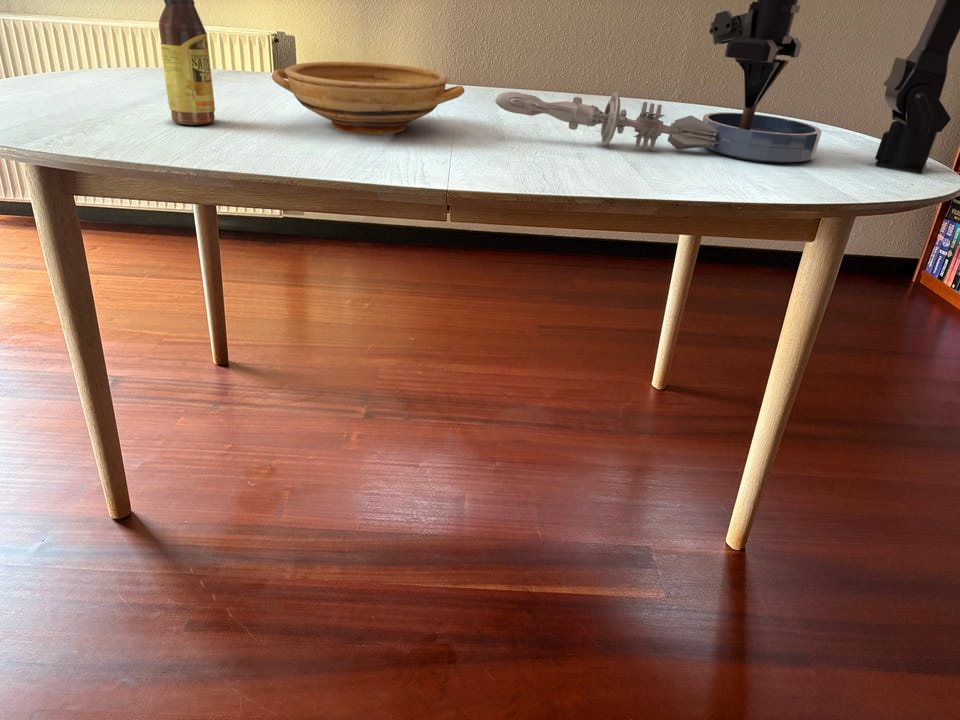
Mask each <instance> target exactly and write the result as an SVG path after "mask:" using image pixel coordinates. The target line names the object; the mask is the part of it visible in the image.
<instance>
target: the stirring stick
mask: <svg viewBox="0 0 960 720" xmlns="http://www.w3.org/2000/svg"><path fill="white" fill-rule="evenodd" d="M757 102H758V100H757V101H756V103H755V104H754V106H753V107H752V108H746V107H745V104H744V106H743V109H742V113H743V114H742V118H741V122H740V126H739V128H743V129H749V130H751V126H752V122H753V118H754V114H756V109H757V106H758V105H757Z"/></svg>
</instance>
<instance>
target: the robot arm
mask: <svg viewBox="0 0 960 720" xmlns="http://www.w3.org/2000/svg"><path fill="white" fill-rule="evenodd" d="M798 3H799V0H756V1H752V2H751V3H750V4H749V7H748V10H747V12H746V13H741V14H735V15H734V16H733V15H732V13H731V11H729V10H724V11H723V10H722V11H720V12H716V13H715V16H714V19H713V21H711V23H710V28H709V30H708V32H709V34H710V35H712V41H713V45H715V46H716V45H717V44H719V45H724V44H726V49H725V54H724V57H725V58H731V59H734V60H735V62H736V63H738V65H739V66H740V67H741V69H742V71H743V78H744V79H743V80H744V105H745V107H746V108H752V107H753V106H754V104H755V103H756V101H757V100H758V102H757V106H758V105H759V103H760V102H761V101H762V99H763V98H764V96H765V95H766V93H768V91H769V90H770V88H771V87H772V86H773V84H774V82H775V81H776V80H777V78H778V77H779V76H780V74H781V73H782V71H783V70H785V68H786V66H787V65H788V64H789V62H790V60H788V59H787V60H786V59H781V56H787V57H790V58H794V59H795V58H799V56H800V52H801V49H802V45H803V44H802V42H801V40H800V39H799V37H796V36H793V35H790V33H791V30H792V27H793V22H794V17H795V15H796V14H800V10H801V4H798ZM959 33H960V0H936V1H935V4H934V6H933V8H932V10H931V12H930V14H929V16H928V19H927V21H926V23H925V26H924V28H923V30H922V33H921V35H920V37H919V39H918V41H917V43H916V45H915V46H914V48H913V50H912V51H910V52H909V54H908V56H907V57H906V58H903V57H899V56H896V57H895V58H894V61H893V64H892V67H891V71H890V74H889V75H888V77H887V79H886V80H885V81H884V82H883V84H882V86H884V87H885V90H884V99H885V102H886V104H887V106H888V107H890V108H891V119H892V120H893V122H891V124H890V126H889V129H888V130H886V131H885V132H883V134H882V137H881V139H880V143H879V146H878V149H877V151H876V154H875V156H874V159H875V160H876V161H875V164H874V165H876V166H879V167H885V168H890V169H896V170H901V171H906V172H907V171H908V172H912V173H919V174H922V173H923V172H924V171H925V169H926V168H927V167H928V164H927V162H928V160H929V156H930V154H931V153H932V149H933V146H934V144H935V141H936V139H937V136H938V134H939V133H941V132H942V131H943V130H944V129H945V128H946V126H947V125H948V124H949V123H950V121H951V116H950V114H949V113H948V111H947V109H946V108H945V107H944V105H943V103H942V101H941V100H940V99H941V96H942V93H943V90H944V87H945V83H946V80H947V77H948V76H947V75H948V66H949V57H950V53H951V50H952V48H953V46H954V44H955V42H956V40H957V37H958V35H959Z"/></svg>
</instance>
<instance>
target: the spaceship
mask: <svg viewBox="0 0 960 720" xmlns="http://www.w3.org/2000/svg"><path fill="white" fill-rule="evenodd" d="M494 99H495V100H494V101H495V104H496V105H497V106H498V107H499V108H500V109H502V110H505V111H507V112H509V113H513V114H518V115H524V116H530V117H533V116H537V115H541V114H545V115H549V116H551V117H552V118H555V119H557V120H559V121H561V122H564V123H568V129H569V130H573V131H575V130H577V129H578V128H579V125H581V126H586V127H591V128H592V127H595V126H596V125H600V136H601V145H602V146H603V147H608V146H609V144H610V142H611V141H612V140H613V138H614V135H615V132H616V130H617V134H623V132H624V130H625V127H626V128H627V127H628V128H633V129H634V132H635V133H637V134H635V135H632V137H633V138H635V147H634V148H636V149H640V147H641V142H642V139H643V142H642V150H647V148H648V144H649V141H650V144H649V151H652V152H653V151H654V150H655V145H656V142H657V140H658V139H659V138H658V137H661V136H662V134H666V135H668V138H667V142H668V143H669V144H670V145H671V146H673V148H675V149H676V150H690V149H701V148H706V146H714V144H720V143H719V142H717V141H716V140H715V139H716V137H715V136H716V134H717V133H718V130H716V129H715V128H714V127H713V126H711V125H709V124H707V123H705V122H703V120H701V119H699V118H698V117H696V116H694V115H692V114H690V115H687V116H684V117H681V118H677V119H675V120H674V122H671V123H670V125H667V124H664V121H663V120H660V119H663V117H665V116H666V115H665V114H662V108H663V105H662V104H657V106H656V107H657V108H656V111H655V103H652V102H651V103H650V105H649V110H648V111H647V108H648V101H643V102H642V107H641V112H640V113H639V115H638V116H637V117H636V119H631V118H628V117H627V110H626V109H621V98H620V93H619V92H618V91H615V92H613V93H612V95H611V97H610V99H609V100H608V101H607V104H606V106H605V109H604V111H602V110H600V108H599V107H598V106H596V105H594V104H584V103H583V99H582V97H580V96H574V97H573V98H572V101H567V100H566V101H565V100H564V101H555V102H554V101H553V102H547V101H544V100H542V99H541V98H540V97H538V96H537V95H532V94H526V93H522V92H516V91H507V92H505V91H504V92H501V93H499V94H497V95H496V96H495V98H494ZM654 112H655V113H654Z"/></svg>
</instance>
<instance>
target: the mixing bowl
mask: <svg viewBox="0 0 960 720" xmlns="http://www.w3.org/2000/svg"><path fill="white" fill-rule="evenodd" d="M742 114H743V112H727V111H725V112H720V111H719V112H709V113H705V114H703V116H702V121H703V122H705V123H707V124H709V125H711V126H713V127H714V128H715V129H716V130H718V133H717V134H716V136H715V137H716V139H715V140H716V141H717V142H719V143H720V144H714V146H706V147H705V148H706V149H709V150H711V151H712V152H714V153H716V154H720V155H723V156H727V157H730V158H734V159H739V160H745V161H751V162H758V163H759V162H760V163H768V164H792V163H797V162H800V163H801V162H806V161H811V160H812V159H814V158H815V156H816V152H817V149H818V145H819V142H820V138H821V136H822V133H823V132H822V130H821V128H820V127H818V126H815V125H814V124H813V125H812V124H809V123H807V122H803V121H800V120H799V121H798V120H794V119H789V118H784V117H779V116H773V115H766V114H765V115H764V114H756V113H755V114H754V118H753V122H752V126H751V130H749V129H743V128H739V126H740V122H741V118H742Z"/></svg>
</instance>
